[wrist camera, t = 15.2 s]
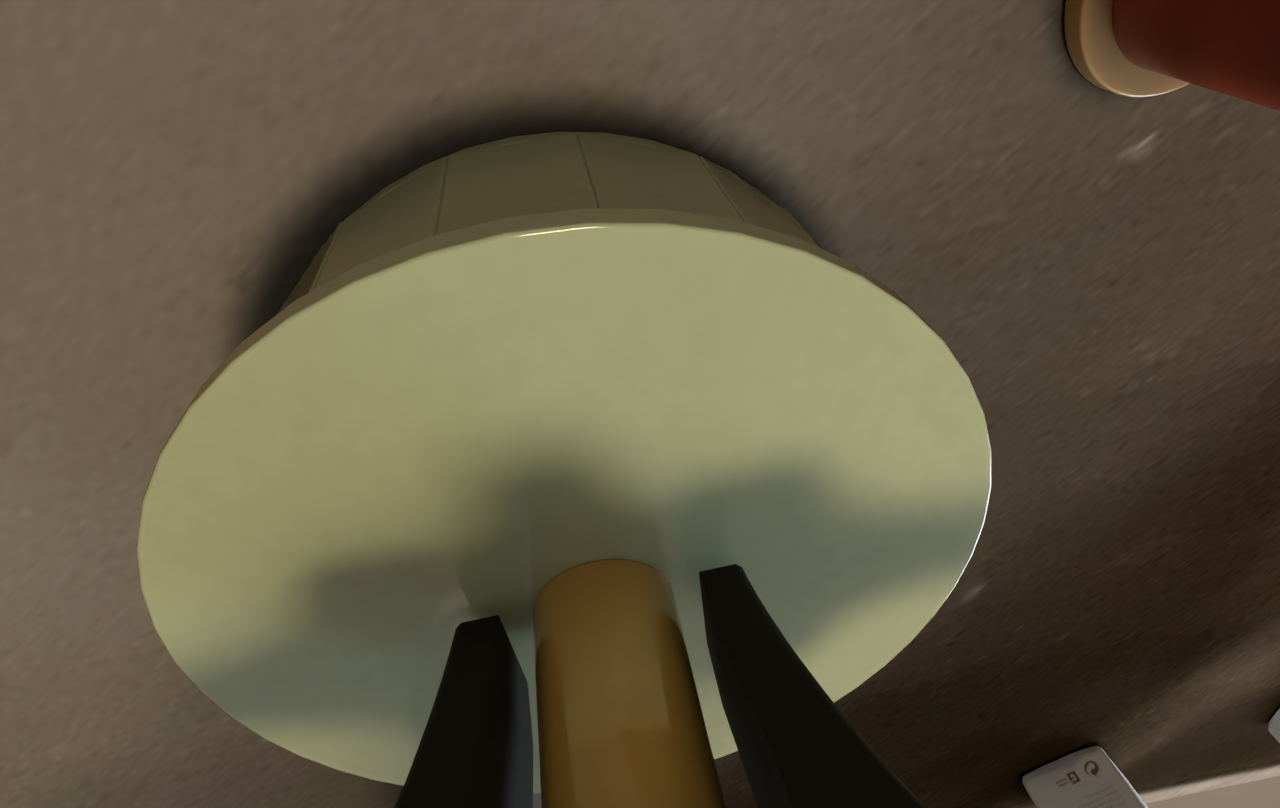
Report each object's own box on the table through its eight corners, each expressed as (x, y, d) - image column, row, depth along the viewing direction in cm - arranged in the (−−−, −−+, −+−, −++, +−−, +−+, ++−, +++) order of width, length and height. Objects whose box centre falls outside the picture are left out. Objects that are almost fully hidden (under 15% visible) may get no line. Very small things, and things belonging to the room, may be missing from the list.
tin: (830, 533, 20) (907, 688, 16) (395, 626, 20) (370, 810, 16) (864, 72, 12) (1028, 164, 9) (140, 202, 12) (-34, 363, 8)
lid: (909, 672, 17) (1028, 902, 13) (362, 795, 16) (322, 1074, 13) (1040, 98, 9) (1466, 279, 5) (-76, 303, 8) (-598, 699, 4)
